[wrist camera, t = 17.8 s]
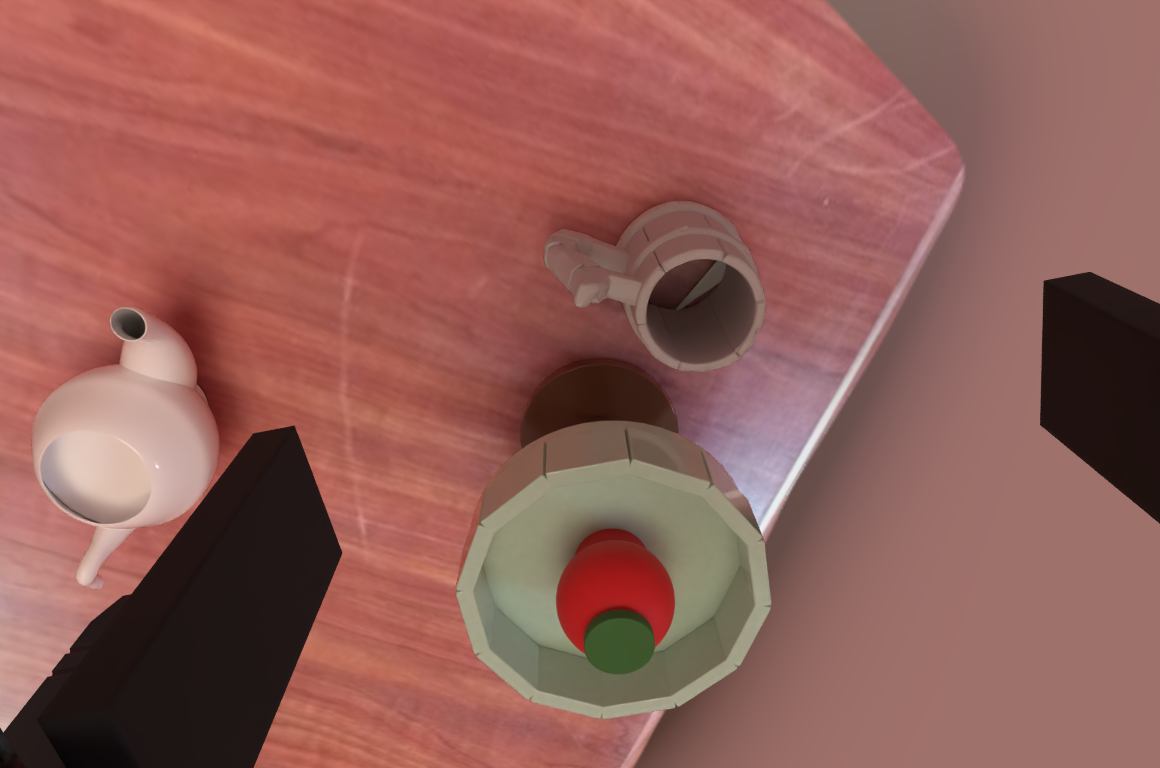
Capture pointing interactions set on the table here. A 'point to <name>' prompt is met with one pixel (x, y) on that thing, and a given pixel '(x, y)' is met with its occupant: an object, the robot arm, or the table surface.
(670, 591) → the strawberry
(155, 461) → the teapot
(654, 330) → the mug
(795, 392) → the table surface
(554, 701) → the dish
